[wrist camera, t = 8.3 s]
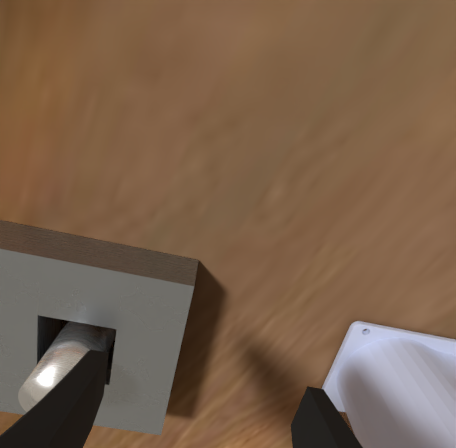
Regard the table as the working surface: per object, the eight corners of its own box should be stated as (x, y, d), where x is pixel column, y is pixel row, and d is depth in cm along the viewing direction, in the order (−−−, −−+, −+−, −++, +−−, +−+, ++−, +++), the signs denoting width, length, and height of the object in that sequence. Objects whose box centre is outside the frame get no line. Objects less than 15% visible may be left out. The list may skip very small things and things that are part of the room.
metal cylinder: (120, 307, 21) (82, 382, 16) (118, 344, 22) (82, 426, 17) (71, 300, 21) (15, 374, 15) (72, 338, 22) (20, 419, 17)
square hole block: (198, 260, 20) (194, 286, 17) (168, 396, 24) (160, 435, 21) (-145, 190, 18) (-212, 207, 15) (-113, 351, 22) (-160, 386, 20)
